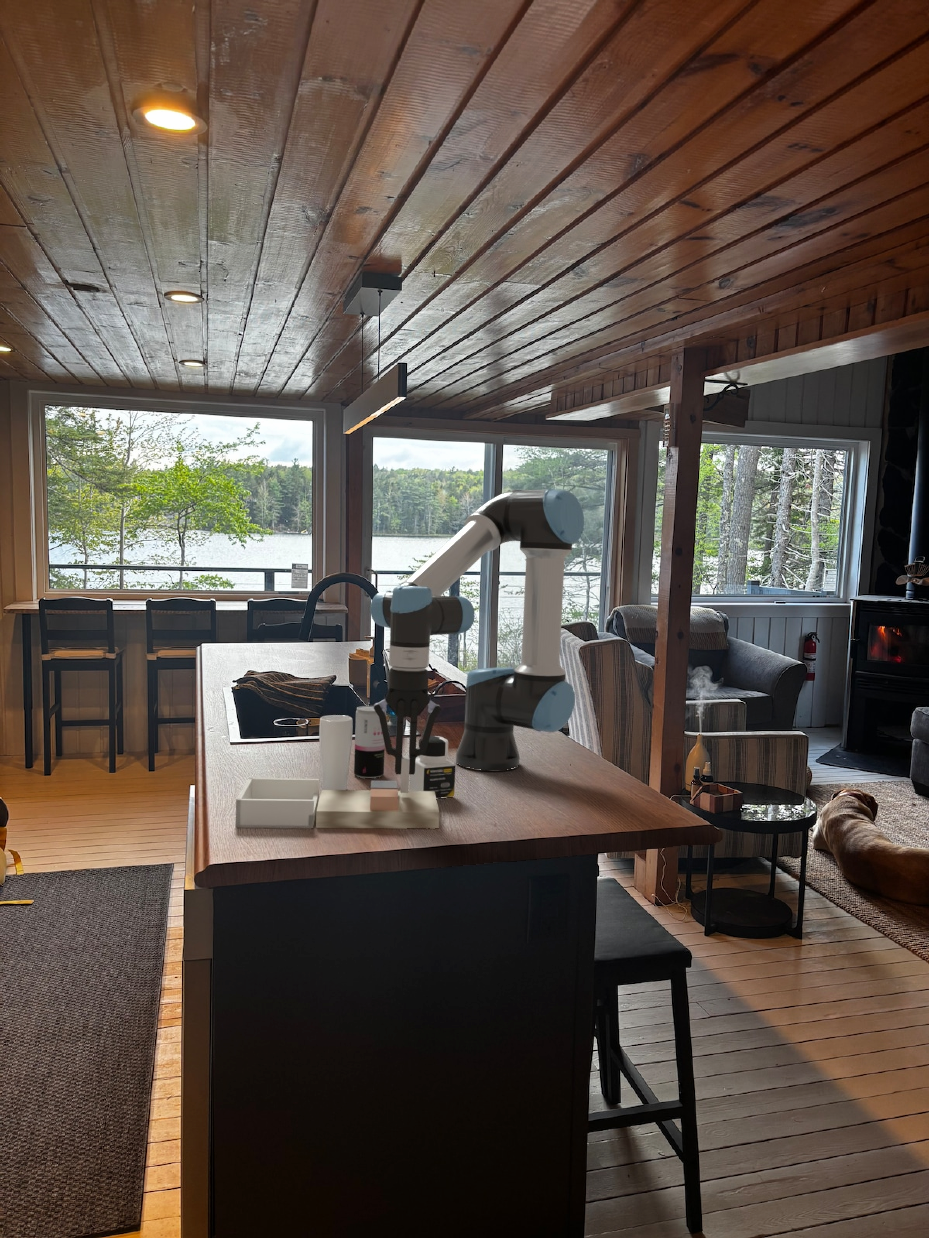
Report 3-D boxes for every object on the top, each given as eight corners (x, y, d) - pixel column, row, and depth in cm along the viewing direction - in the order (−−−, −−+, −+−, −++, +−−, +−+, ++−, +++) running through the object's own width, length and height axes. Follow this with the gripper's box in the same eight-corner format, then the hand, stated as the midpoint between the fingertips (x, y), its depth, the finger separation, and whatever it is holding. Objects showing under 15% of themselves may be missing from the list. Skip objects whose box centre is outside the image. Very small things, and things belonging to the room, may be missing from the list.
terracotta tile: (397, 802, 163) (397, 789, 163) (397, 810, 159) (398, 796, 158) (370, 802, 163) (370, 788, 163) (370, 810, 158) (370, 796, 158)
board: (433, 806, 172) (434, 791, 172) (438, 828, 158) (439, 812, 158) (321, 804, 170) (321, 789, 170) (315, 827, 156) (316, 811, 156)
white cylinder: (356, 787, 183) (358, 716, 182) (341, 795, 177) (343, 722, 176) (327, 783, 186) (329, 713, 184) (311, 791, 179) (313, 719, 178)
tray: (318, 804, 171) (319, 778, 170) (312, 828, 156) (313, 800, 155) (247, 803, 169) (248, 777, 169) (235, 827, 154) (236, 799, 154)
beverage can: (347, 774, 194) (349, 707, 193) (370, 770, 199) (372, 704, 197) (367, 780, 189) (369, 712, 188) (389, 775, 194) (392, 709, 193)
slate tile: (396, 793, 169) (396, 780, 169) (397, 800, 164) (397, 787, 164) (370, 793, 169) (371, 780, 169) (370, 800, 164) (370, 787, 164)
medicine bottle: (423, 801, 176) (425, 742, 175) (408, 792, 182) (410, 735, 181) (454, 798, 179) (457, 740, 178) (439, 789, 185) (441, 733, 184)
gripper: (374, 669, 161) (369, 795, 162) (444, 671, 162) (439, 796, 164) (374, 664, 168) (369, 785, 170) (441, 666, 170) (436, 786, 171)
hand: (404, 790), depth 167 cm, fingers closed
